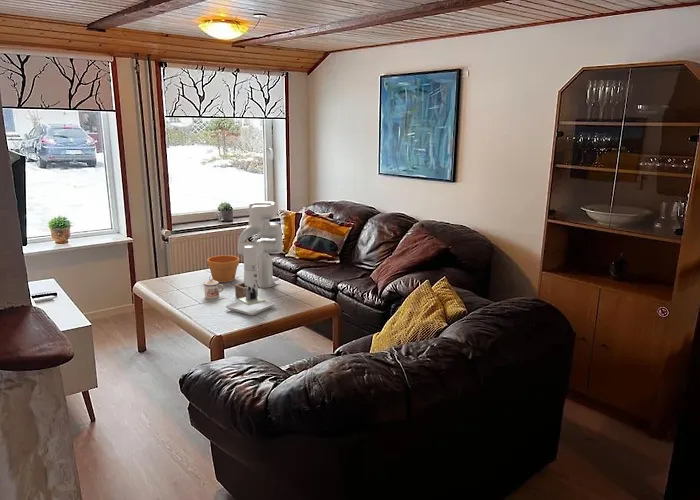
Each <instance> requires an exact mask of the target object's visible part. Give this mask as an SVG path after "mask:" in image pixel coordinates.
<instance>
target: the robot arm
mask: <svg viewBox="0 0 700 500" xmlns="http://www.w3.org/2000/svg"><path fill="white" fill-rule="evenodd" d="M248 206H249V218H248V226H247V227H246V228H244V230H243V231H242V232H241V233H240V234H239V237H238V242H237V253H238V255H240V256H243V283H244V284H245V285H246V287H247V291H250V290H251V293H250V297H251V299H255V298H256V290H258V291H259V288H261V289H262V288H263V289H265V288H266V289H267V288H272V287H274V286H276V283H275V282H277V281H280V279H279V277H273V259H272V257H271V255H270V254H281V253H282V252H283V249H284V248H283V246H284V245H283V244H284V243H283V242H284V241H283V229H282V226H281V224H279V223H270V222H271V221H270V220H273V219H274V218H275V217H276V216H277V214H278V210H279V209H278V204H277V202H275V201H251V202H250V203H249V204H248ZM254 235H256V236H258V237H259V238H260V239H257V240H256V242H252V241H246V240H247V239H248V238H250V237H252V236H254ZM245 241H246V242H245ZM253 288H254V289H253Z"/></svg>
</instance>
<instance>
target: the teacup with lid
mask: <svg viewBox="0 0 700 500" xmlns="http://www.w3.org/2000/svg"><path fill="white" fill-rule="evenodd" d="M203 287H204V298H205V299H208V300H213V299H214V300H215V299H218V298H220V293H222V292H223V291H224V285H223V284H222V283H221V284H220V282H218V281H215V280H213V278H209V280H206V281H205V282H203ZM219 287H221V290H220V288H219Z"/></svg>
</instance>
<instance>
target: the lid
mask: <svg viewBox="0 0 700 500" xmlns="http://www.w3.org/2000/svg"><path fill="white" fill-rule="evenodd" d="M250 293H251V290H250V291H246V297H244V298H240V299H239V298H238V299H237V301H240V302H242V303H244V304H246V305H248V306H249V305H253V304H258V303H262V302H265V300H266V299H264V298H262V297H261V296H259V295H258V296H257V290H256V298H255V299H251V297H250Z"/></svg>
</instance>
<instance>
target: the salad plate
mask: <svg viewBox="0 0 700 500" xmlns="http://www.w3.org/2000/svg"><path fill="white" fill-rule="evenodd" d="M276 304H277V303H276V302H273V301H271V300H268V299H267V300H266V299H265V302H262V303H258V304H253V305H249V306H248V305H246V304H244V303H242V302H240V301H238V300H236V301H234V302H232V303H229V304H227V305H225V308H226V309H228V310H230V311H233V312H237V313H241V314H244V315H248V316H255V315H257V314H259V313H262V312H264V311H266V310H269V309H271V308H272V307H274V306H276Z"/></svg>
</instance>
